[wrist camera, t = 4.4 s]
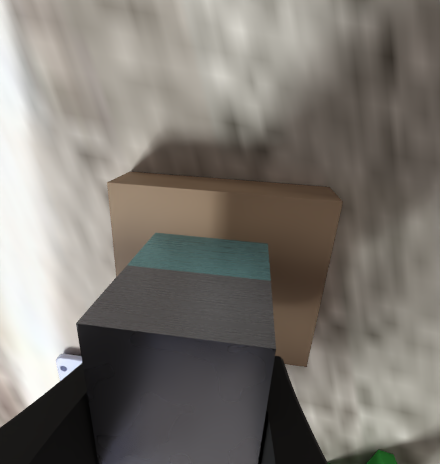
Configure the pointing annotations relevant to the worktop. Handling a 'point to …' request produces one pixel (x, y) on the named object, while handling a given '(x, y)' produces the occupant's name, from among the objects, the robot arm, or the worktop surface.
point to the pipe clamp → (382, 458)
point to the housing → (181, 354)
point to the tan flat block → (240, 235)
